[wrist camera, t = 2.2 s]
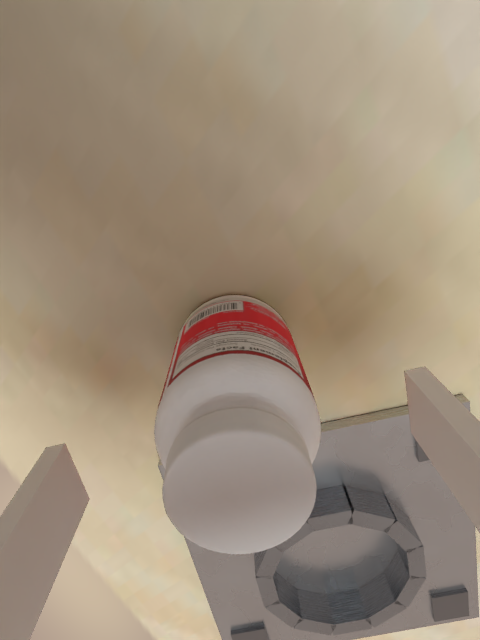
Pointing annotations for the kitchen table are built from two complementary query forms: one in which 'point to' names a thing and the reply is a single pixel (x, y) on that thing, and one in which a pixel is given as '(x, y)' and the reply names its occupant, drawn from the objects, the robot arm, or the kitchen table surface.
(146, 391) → the kitchen table surface
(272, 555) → the duct flange
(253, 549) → the pill bottle
